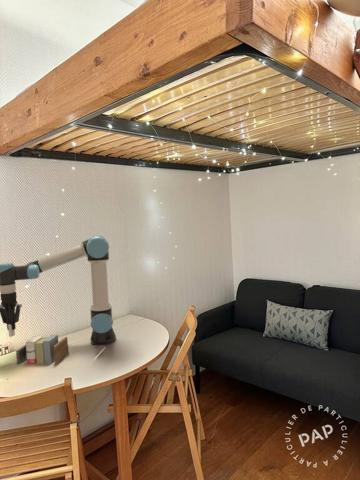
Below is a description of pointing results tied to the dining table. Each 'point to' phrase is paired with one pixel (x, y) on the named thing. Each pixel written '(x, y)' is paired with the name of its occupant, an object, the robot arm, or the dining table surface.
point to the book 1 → (40, 351)
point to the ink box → (32, 349)
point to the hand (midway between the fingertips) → (12, 335)
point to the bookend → (21, 354)
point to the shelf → (60, 350)
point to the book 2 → (49, 348)
